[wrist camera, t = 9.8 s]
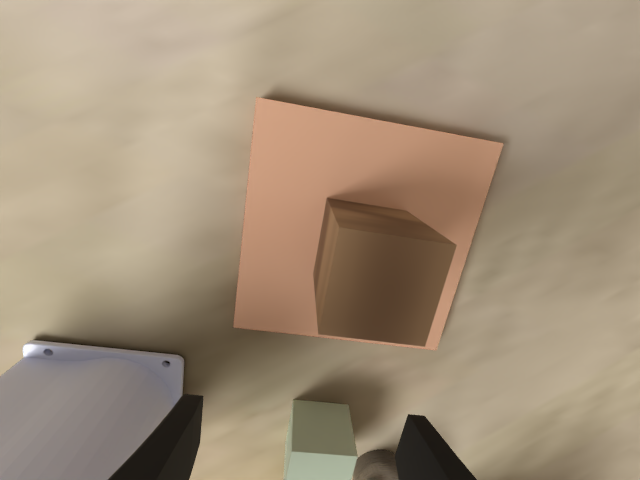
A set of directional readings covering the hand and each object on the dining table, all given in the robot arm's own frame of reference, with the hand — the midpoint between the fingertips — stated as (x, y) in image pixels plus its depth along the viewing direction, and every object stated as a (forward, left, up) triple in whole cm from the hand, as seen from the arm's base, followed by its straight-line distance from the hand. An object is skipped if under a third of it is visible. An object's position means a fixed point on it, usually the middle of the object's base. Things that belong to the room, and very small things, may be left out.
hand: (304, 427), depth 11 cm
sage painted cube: (+2, -10, -10) cm, 14 cm away
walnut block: (+2, +4, -8) cm, 10 cm away
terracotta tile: (+2, +4, -9) cm, 11 cm away
